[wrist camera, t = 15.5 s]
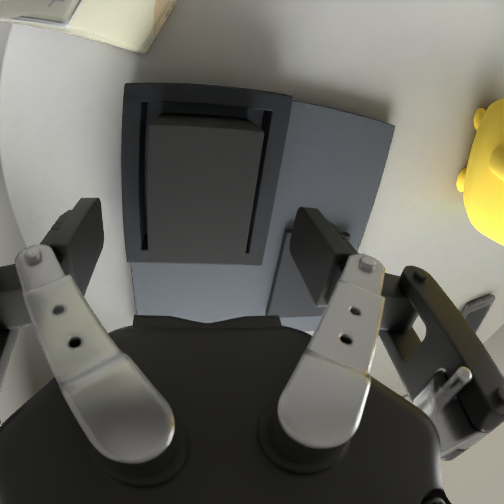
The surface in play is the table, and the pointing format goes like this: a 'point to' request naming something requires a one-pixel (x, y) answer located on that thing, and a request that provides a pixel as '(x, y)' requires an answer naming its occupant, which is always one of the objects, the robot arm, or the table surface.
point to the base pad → (265, 199)
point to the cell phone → (477, 311)
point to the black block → (200, 187)
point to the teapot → (486, 173)
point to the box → (94, 19)
